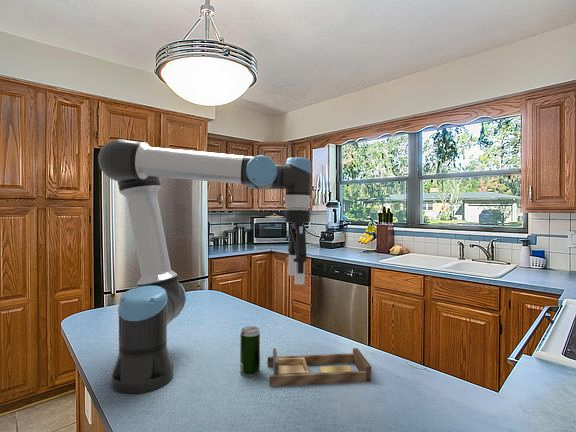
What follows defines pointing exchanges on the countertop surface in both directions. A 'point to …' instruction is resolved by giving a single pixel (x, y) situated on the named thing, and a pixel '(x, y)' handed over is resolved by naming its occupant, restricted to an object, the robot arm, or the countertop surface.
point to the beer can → (249, 351)
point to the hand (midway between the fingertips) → (295, 279)
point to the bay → (325, 370)
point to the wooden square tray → (288, 365)
